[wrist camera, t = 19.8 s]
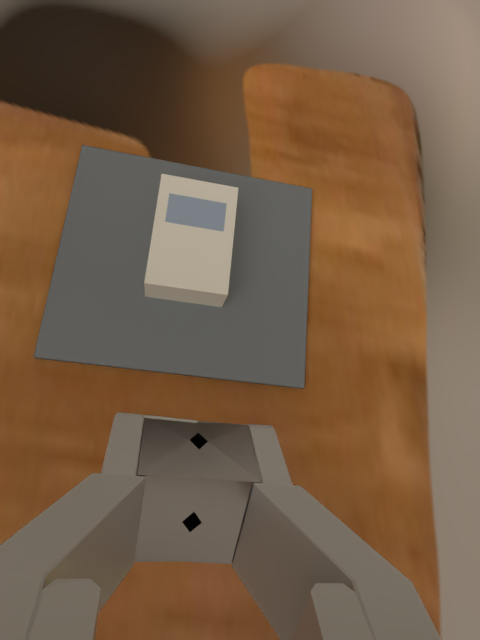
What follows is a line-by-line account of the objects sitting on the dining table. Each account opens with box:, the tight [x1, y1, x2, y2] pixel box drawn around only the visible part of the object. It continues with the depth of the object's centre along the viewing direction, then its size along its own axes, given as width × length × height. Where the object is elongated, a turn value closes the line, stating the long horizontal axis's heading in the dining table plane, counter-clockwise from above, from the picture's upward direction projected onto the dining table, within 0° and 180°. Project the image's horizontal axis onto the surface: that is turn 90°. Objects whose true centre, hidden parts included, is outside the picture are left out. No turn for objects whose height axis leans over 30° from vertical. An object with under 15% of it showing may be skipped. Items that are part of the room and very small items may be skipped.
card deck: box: [144, 174, 238, 307], centre depth 34 cm, size 6×3×9 cm
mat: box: [34, 145, 312, 389], centre depth 35 cm, size 20×18×1 cm
